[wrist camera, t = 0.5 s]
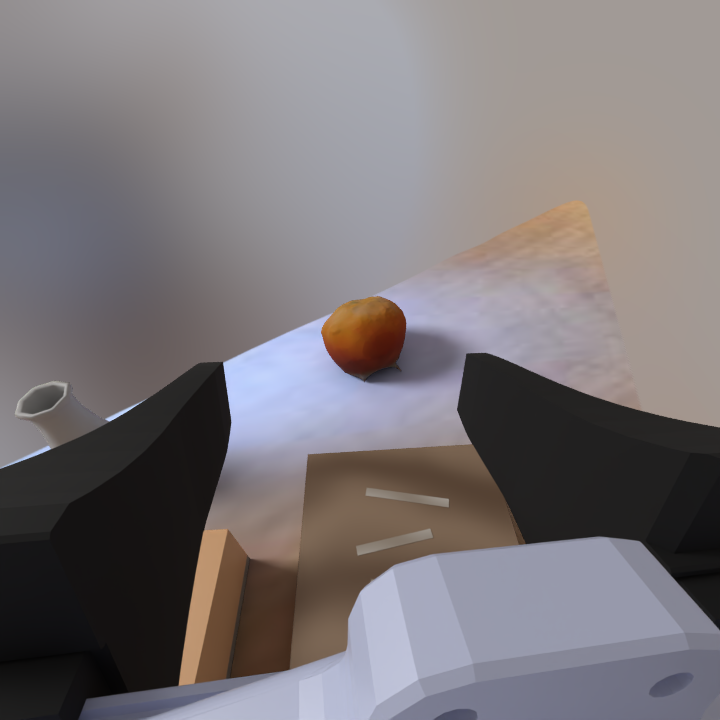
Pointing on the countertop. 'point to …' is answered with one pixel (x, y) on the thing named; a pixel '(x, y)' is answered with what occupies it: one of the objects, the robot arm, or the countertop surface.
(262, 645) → the countertop surface
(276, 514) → the countertop surface
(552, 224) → the countertop surface
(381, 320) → the fruit
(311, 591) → the board
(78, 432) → the flask
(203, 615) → the block
